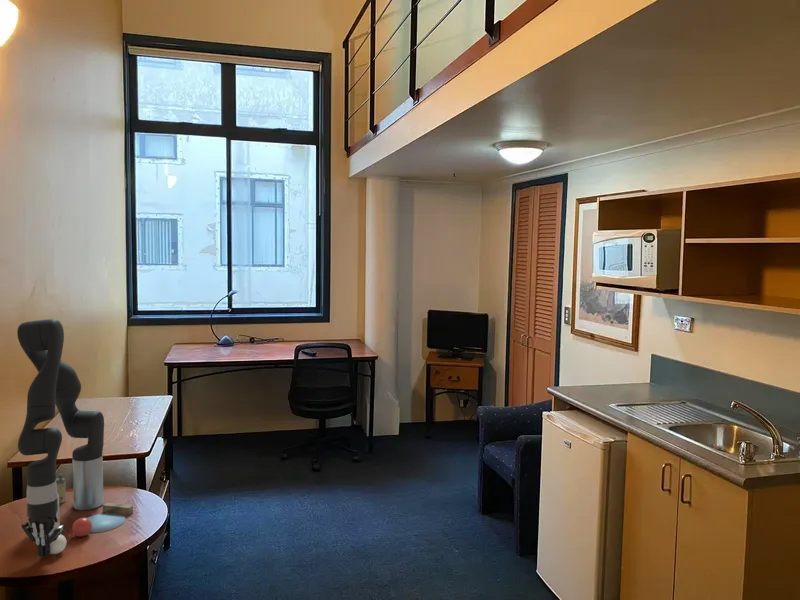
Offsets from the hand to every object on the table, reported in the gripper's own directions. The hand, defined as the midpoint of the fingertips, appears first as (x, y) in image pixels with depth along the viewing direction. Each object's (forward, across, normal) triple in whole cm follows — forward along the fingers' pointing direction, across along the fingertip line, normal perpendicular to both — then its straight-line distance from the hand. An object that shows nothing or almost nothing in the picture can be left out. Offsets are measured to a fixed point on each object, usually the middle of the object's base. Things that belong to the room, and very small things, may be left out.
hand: (44, 555), depth 171 cm
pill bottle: (+1, -13, +14) cm, 19 cm away
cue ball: (-2, 0, +4) cm, 4 cm away
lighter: (+2, -26, +33) cm, 42 cm away
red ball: (-2, 0, +15) cm, 15 cm away
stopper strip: (+1, 0, +32) cm, 32 cm away
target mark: (+1, 0, +24) cm, 24 cm away
